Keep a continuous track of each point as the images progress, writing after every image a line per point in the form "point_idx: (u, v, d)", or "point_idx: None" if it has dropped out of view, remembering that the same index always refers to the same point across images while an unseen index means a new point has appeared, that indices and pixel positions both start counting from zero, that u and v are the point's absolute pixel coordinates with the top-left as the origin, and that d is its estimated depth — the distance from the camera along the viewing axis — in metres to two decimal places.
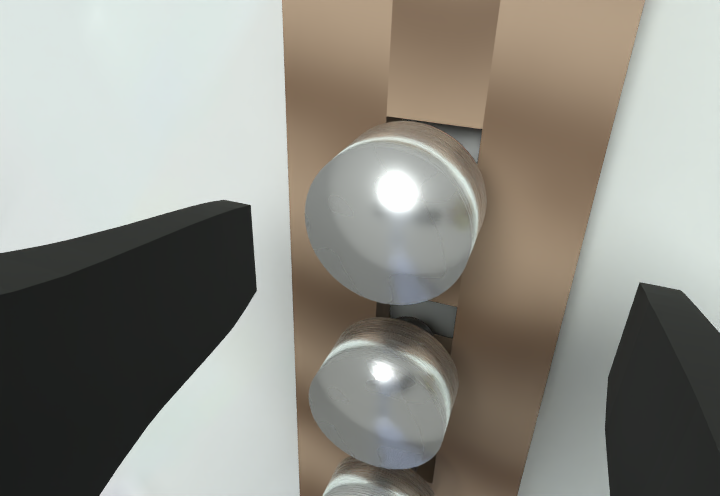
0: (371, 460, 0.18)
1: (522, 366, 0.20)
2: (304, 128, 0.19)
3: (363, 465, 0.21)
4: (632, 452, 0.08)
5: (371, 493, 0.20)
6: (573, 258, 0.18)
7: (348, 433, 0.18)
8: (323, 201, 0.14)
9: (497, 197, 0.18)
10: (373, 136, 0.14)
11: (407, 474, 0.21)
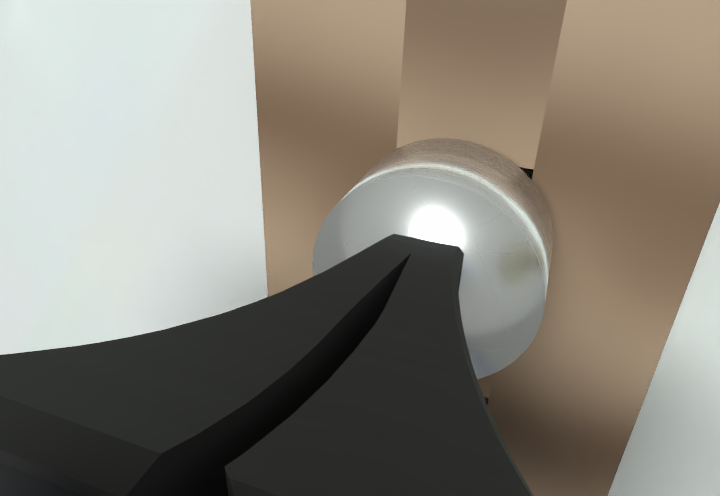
0: None
1: (575, 476, 0.15)
2: (284, 161, 0.14)
3: None
4: None
5: None
6: (656, 347, 0.13)
7: None
8: (338, 247, 0.11)
9: (551, 262, 0.13)
10: (406, 160, 0.10)
11: None
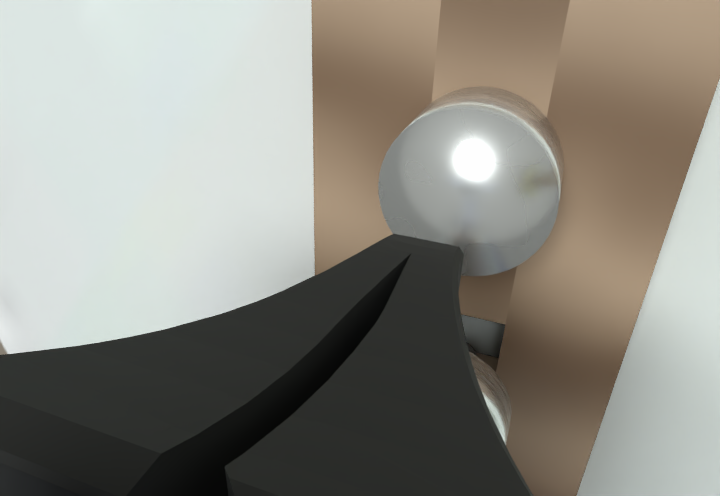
0: None
1: (579, 391, 0.18)
2: (334, 120, 0.16)
3: None
4: None
5: None
6: (647, 271, 0.15)
7: None
8: (399, 168, 0.14)
9: (559, 200, 0.15)
10: (453, 100, 0.14)
11: None
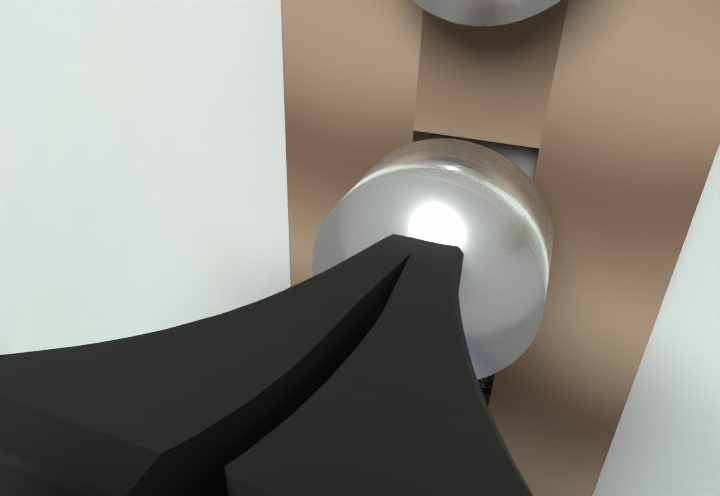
0: None
1: (638, 242, 0.13)
2: None
3: None
4: None
5: None
6: None
7: None
8: None
9: None
10: None
11: None
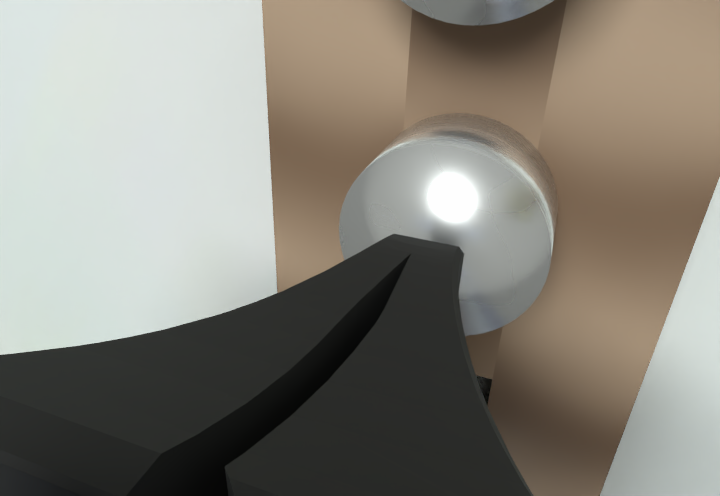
0: None
1: (642, 254, 0.12)
2: None
3: None
4: None
5: None
6: None
7: None
8: None
9: None
10: None
11: None
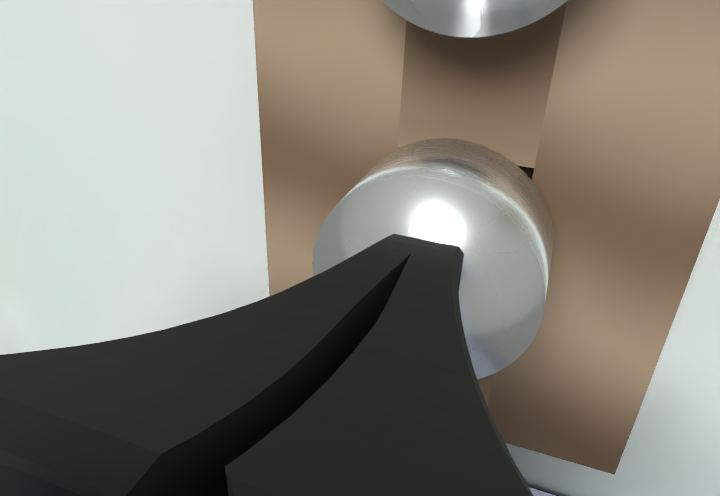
0: (460, 24, 0.09)
1: None
2: None
3: (412, 149, 0.11)
4: None
5: (435, 167, 0.10)
6: None
7: None
8: None
9: None
10: None
11: (500, 160, 0.11)
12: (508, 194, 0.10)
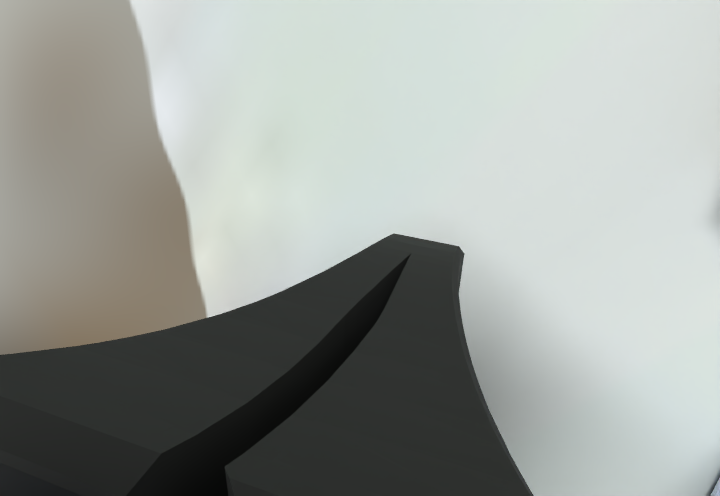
0: None
1: None
2: None
3: None
4: None
5: None
6: None
7: None
8: None
9: None
10: None
11: None
12: None
